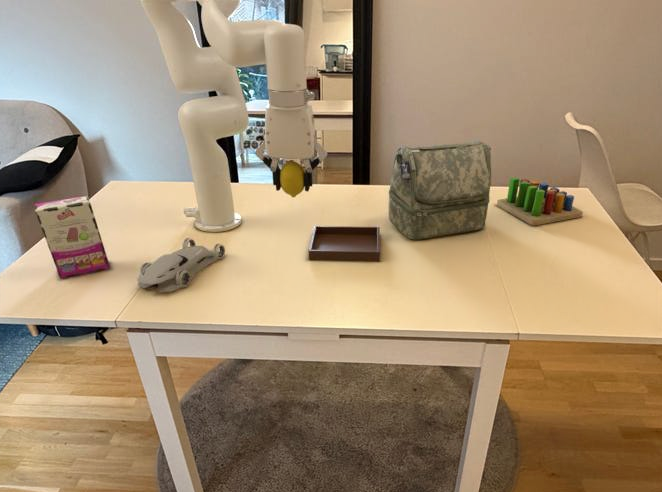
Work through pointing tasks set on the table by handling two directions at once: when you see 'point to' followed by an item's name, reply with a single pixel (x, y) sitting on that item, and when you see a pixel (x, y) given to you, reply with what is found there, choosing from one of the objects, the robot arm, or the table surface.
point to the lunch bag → (440, 189)
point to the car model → (178, 267)
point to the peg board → (538, 203)
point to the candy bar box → (72, 236)
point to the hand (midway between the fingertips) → (293, 188)
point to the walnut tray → (345, 243)
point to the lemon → (292, 178)
